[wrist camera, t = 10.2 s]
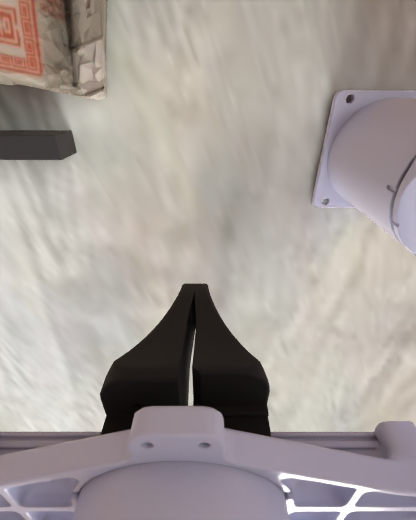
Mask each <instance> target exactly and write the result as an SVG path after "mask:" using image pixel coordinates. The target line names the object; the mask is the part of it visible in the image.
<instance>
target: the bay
mask: <svg viewBox="0 0 416 520" xmlns="http://www.w3.org/2000/svg"><path fill="white" fill-rule="evenodd" d="M75 153H76V148H75V143H74V139H73V135H72V131H44V130H0V160H62V159H64V158H66V157H68V156H70V155H73V154H75Z"/></svg>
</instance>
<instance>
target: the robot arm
mask: <svg viewBox="0 0 416 520" xmlns="http://www.w3.org/2000/svg"><path fill="white" fill-rule="evenodd" d="M348 95H351V96H352V99H351V101H350V102H349V103H347V102H346V98H347V96H348ZM326 198H327V202H325V203H322V201H323V200H324V199H326ZM312 204H313V205H314V206H315V207H346V208H356V209H358V210H359V211H360V212H362V213H363V214H364V215H365V216H367V217H368V218H369V219H370V220H372V221H373V222H374V223H375V224H377V225H378V226H379V227H380V228H382V229H383V230H384V231H385V232H387V233H388V234H389V235H390V236H392V237H393V238H394V239H395V240H397V241H398V242H399V243H400V244H402V245H403V246H404V247H406V248H407V249H408V250H409V251H410V252H412V253H413V254H414V255H416V90H340V91H338V92H336V94H335V95H334V97H333V101H332V105H331V110H330V115H329V120H328V125H327V129H326V134H325V139H324V144H323V149H322V153H321V158H320V163H319V168H318V173H317V177H316V182H315V187H314V192H313V197H312ZM195 328H196V334H195ZM194 334H195V346H194V356H193V365H192V373H193V396H194V401H193V406H188V393H189V372H190V361H191V354H192V348H193V341H194ZM269 392H270V389H269V382H268V379H267V377H266V374H265V372H264V369H263V367H262V365H261V363H260V361H258V360H257V359H256V358H255V357H254V356H252V355H251V354H250V353H249V352H248V351H247V350H246V349H245V348H244V347H243V346H242V345H241V344H240V343H239V341H238V340H237V339H236V338H235V337H234V336H233V335H232V333H231V332H230V331H229V329H228V328H227V326H226V325H225V323H224V322H223V320H222V319H221V317H220V315H219V313H218V311H217V310H216V307H215V305H214V303H213V301H212V298H211V296H210V293H209V289H208V285H207V284H183V285H182V288H181V290H180V292H179V294H178V296H177V298H176V300H175V301H174V303H173V305H172V306H171V308H170V309H169V311H168V312H167V313H166V315H165V316H164V318H163V319H162V320H161V321H160V323H159V324H158V325H157V326H156V327H155V328H154V329H153V330H152V331H151V332H150V333H149V334H148V335H147V336H146V337H145V338H144V339H143V340H142V341H141V342H140V343H139V344H137V345H136V346H135V347H134V348H133V349H131V350H130V351H129V352H127V353H126V354H124V355H123V356H121V357H120V358H118V359H117V360H115V361H114V362H113V364H112V366H111V368H110V370H109V372H108V374H107V376H106V378H105V381H104V384H103V387H102V390H101V393H100V397H101V401H102V404H103V407H104V410H105V412H106V415H107V416H106V419H105V422H104V426H103V429H102V432H0V520H416V427H415V425H414V424H413V422H410V421H386V422H382V423H379V424H378V425H377V427H376V429H375V431H374V432H270V427H269V421H268V408H267V401H268V397H269Z"/></svg>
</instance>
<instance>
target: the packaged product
mask: <svg viewBox="0 0 416 520" xmlns="http://www.w3.org/2000/svg"><path fill="white" fill-rule="evenodd" d="M106 21H107V0H0V83H1V84H6V85H12V86H13V85H18V84H19V85H24V86H29V87H35V88H40V89H45V90H51V91H56V92H61V93H66V94H71V95H75V96H80V97H85V98H90V99H95V100H100V99H103V98H105V97H107V93H106Z"/></svg>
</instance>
